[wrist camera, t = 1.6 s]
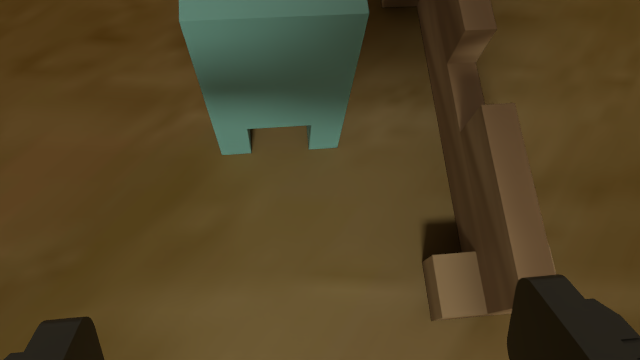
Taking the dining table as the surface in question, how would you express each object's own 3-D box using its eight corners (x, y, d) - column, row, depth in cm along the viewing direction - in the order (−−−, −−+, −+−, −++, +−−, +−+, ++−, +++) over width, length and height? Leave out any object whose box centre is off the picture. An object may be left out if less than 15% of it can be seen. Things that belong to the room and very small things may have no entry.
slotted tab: (222, 154, 28) (179, 21, 17) (220, 115, 29) (178, -38, 18) (337, 147, 29) (369, 13, 18) (333, 109, 30) (360, -44, 18)
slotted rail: (431, 320, 26) (471, 310, 21) (376, -32, 33) (394, -112, 28) (544, 310, 27) (613, 297, 21) (466, -35, 34) (502, -114, 28)
